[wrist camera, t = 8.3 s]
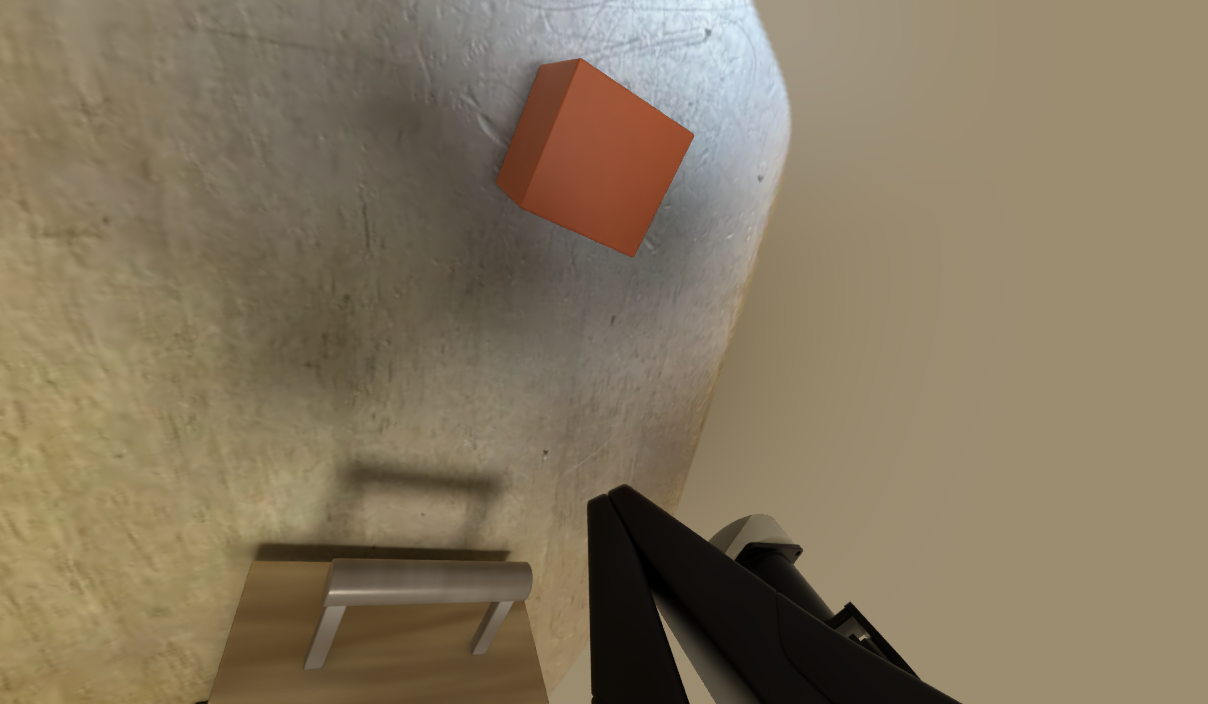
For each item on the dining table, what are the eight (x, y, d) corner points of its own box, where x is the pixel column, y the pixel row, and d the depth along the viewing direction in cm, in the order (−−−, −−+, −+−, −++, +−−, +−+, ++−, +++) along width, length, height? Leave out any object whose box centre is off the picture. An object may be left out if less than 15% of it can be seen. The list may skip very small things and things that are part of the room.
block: (638, 125, 17) (696, 134, 14) (591, 227, 18) (634, 258, 15) (540, 63, 15) (580, 57, 12) (494, 183, 16) (519, 207, 13)
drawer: (279, 468, 17) (221, 651, 11) (552, 496, 23) (600, 626, 17) (193, 760, 22) (125, 980, 17) (431, 722, 28) (439, 877, 23)
